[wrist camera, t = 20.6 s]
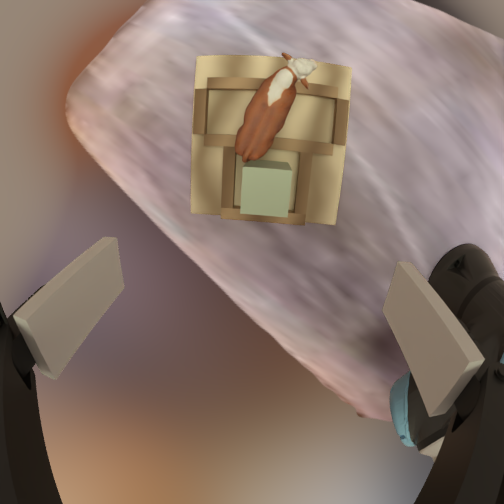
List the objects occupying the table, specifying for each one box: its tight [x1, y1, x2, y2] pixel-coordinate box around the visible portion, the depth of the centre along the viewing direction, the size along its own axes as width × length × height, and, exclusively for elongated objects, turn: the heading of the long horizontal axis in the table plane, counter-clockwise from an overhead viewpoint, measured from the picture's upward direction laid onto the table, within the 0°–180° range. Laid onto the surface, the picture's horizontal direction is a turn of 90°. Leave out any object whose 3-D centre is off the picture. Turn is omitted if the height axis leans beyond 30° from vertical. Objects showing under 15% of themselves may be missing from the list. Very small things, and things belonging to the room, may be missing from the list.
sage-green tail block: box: [240, 160, 292, 218], centre depth 32 cm, size 5×5×8 cm
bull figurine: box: [235, 53, 318, 163], centre depth 27 cm, size 4×13×8 cm, turn 150°
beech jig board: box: [191, 55, 352, 226], centre depth 33 cm, size 20×22×2 cm
